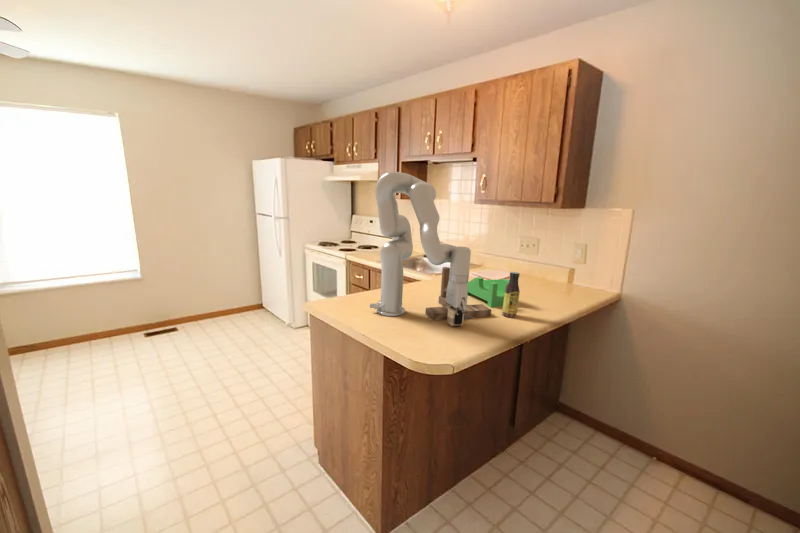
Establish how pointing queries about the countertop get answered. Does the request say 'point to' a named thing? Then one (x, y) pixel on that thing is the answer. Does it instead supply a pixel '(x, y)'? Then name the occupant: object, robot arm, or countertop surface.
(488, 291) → the green cradle stand
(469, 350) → the countertop surface
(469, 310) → the walnut board
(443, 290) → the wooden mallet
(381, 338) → the countertop surface
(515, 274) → the sauce bottle
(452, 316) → the block
